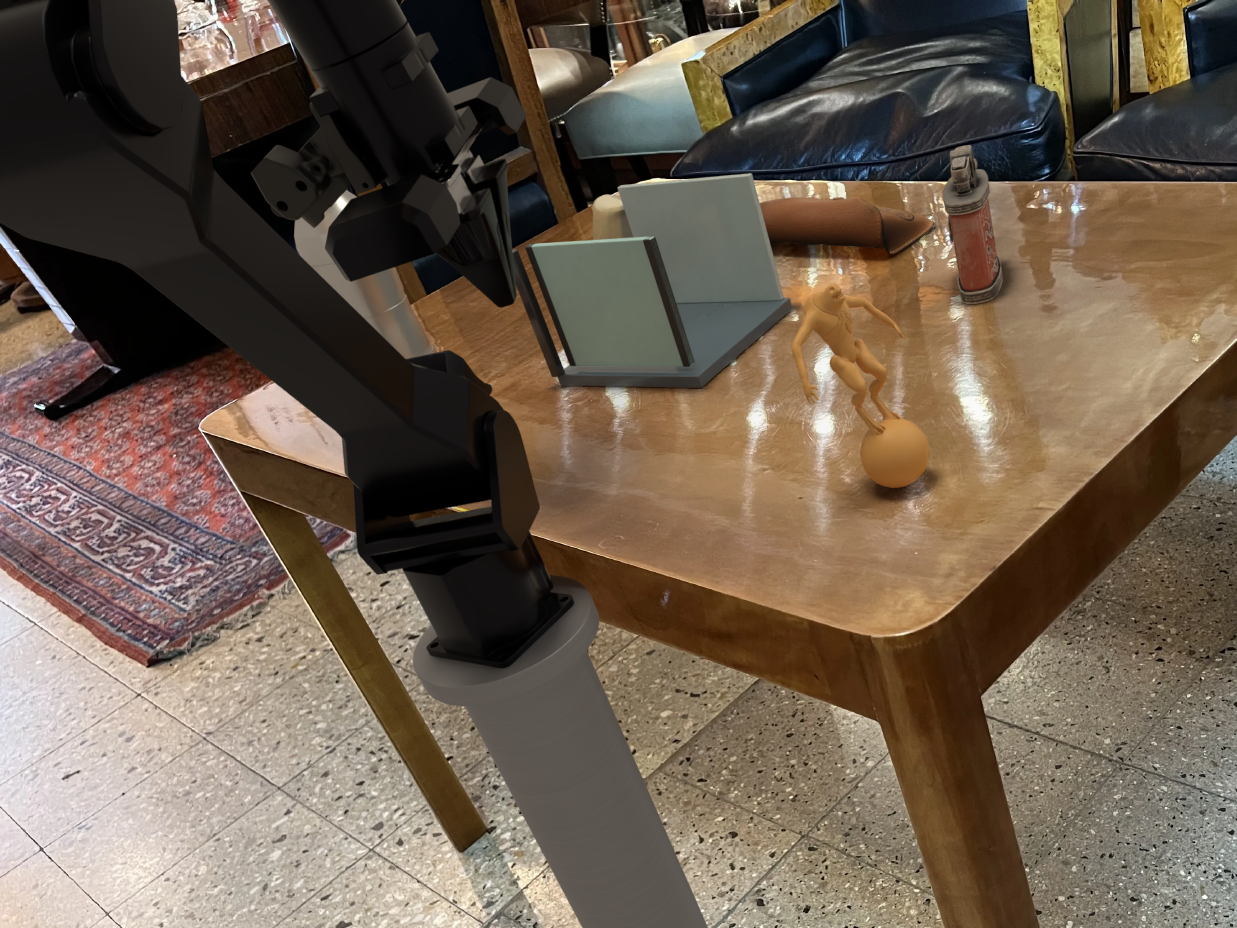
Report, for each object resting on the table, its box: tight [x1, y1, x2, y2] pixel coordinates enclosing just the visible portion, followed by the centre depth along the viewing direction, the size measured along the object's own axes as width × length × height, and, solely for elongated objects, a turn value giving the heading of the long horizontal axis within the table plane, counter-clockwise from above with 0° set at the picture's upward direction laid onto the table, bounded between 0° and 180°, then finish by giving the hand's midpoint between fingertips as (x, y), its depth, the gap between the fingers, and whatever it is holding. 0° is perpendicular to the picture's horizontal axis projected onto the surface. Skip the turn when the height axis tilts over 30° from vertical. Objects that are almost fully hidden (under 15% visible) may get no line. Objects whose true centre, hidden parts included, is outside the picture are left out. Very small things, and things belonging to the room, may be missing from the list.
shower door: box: [524, 236, 695, 367], centre depth 88 cm, size 1×12×10 cm, turn 62°
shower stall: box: [512, 173, 793, 389], centre depth 92 cm, size 14×14×11 cm
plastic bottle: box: [293, 189, 438, 359], centre depth 91 cm, size 6×7×20 cm
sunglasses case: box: [759, 196, 936, 256], centre depth 107 cm, size 18×7×7 cm, turn 52°
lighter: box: [942, 144, 1004, 305], centre depth 89 cm, size 8×3×10 cm, turn 172°
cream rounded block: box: [592, 194, 634, 240], centre depth 109 cm, size 6×5×8 cm
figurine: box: [790, 283, 930, 489], centre depth 66 cm, size 8×6×12 cm
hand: (508, 303), depth 72 cm, fingers closed
